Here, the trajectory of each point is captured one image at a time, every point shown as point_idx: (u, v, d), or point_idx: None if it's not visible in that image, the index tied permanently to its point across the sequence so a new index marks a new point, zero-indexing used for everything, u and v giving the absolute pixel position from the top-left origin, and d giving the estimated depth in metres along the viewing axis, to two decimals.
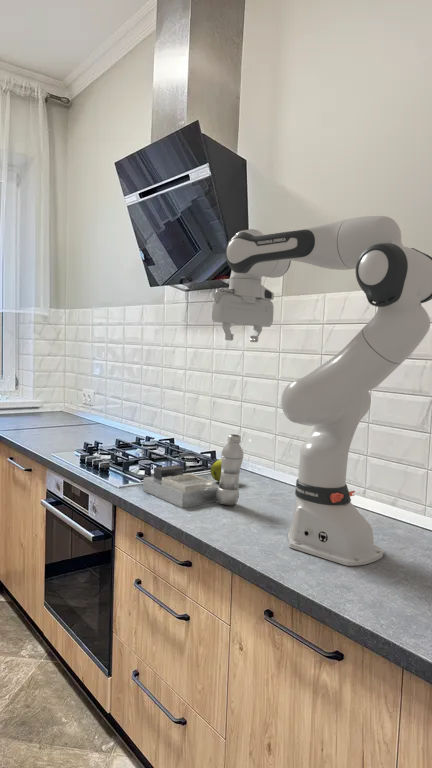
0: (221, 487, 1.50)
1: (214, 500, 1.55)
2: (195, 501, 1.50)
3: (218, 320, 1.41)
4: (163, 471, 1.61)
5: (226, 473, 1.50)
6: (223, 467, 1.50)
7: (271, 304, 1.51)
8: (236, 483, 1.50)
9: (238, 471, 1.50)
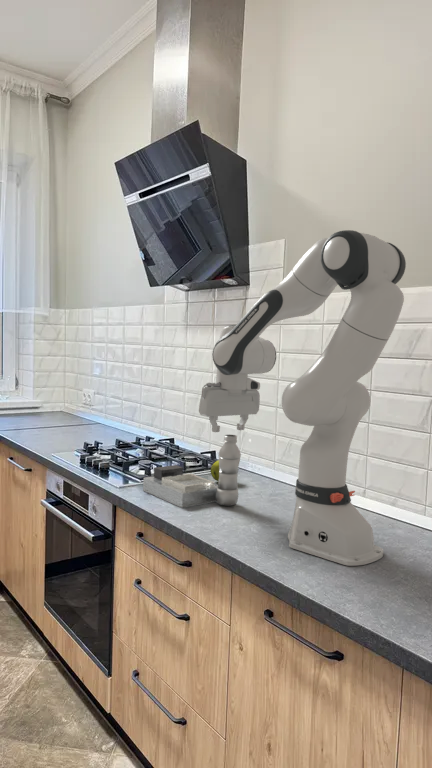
0: (220, 488, 1.50)
1: (214, 500, 1.55)
2: (195, 501, 1.50)
3: (205, 415, 1.45)
4: (163, 471, 1.61)
5: (224, 474, 1.50)
6: (221, 468, 1.50)
7: (257, 393, 1.55)
8: (235, 483, 1.50)
9: (236, 471, 1.50)
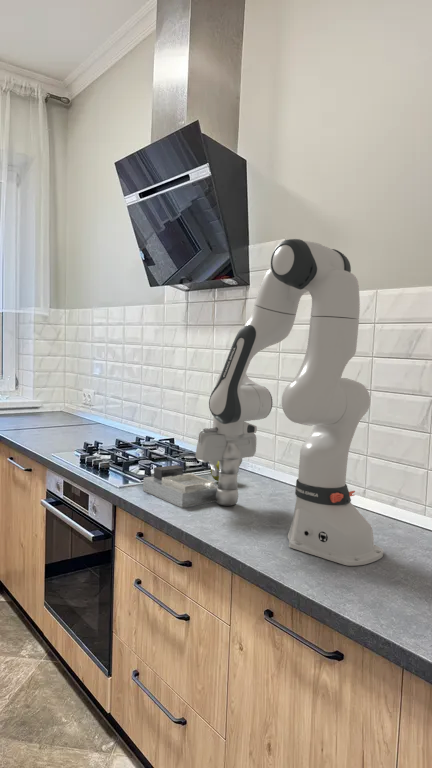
0: (220, 488, 1.50)
1: (214, 500, 1.55)
2: (195, 501, 1.50)
3: (201, 461, 1.46)
4: (163, 471, 1.61)
5: (224, 474, 1.50)
6: (221, 468, 1.50)
7: (254, 436, 1.56)
8: (235, 483, 1.50)
9: (236, 471, 1.50)
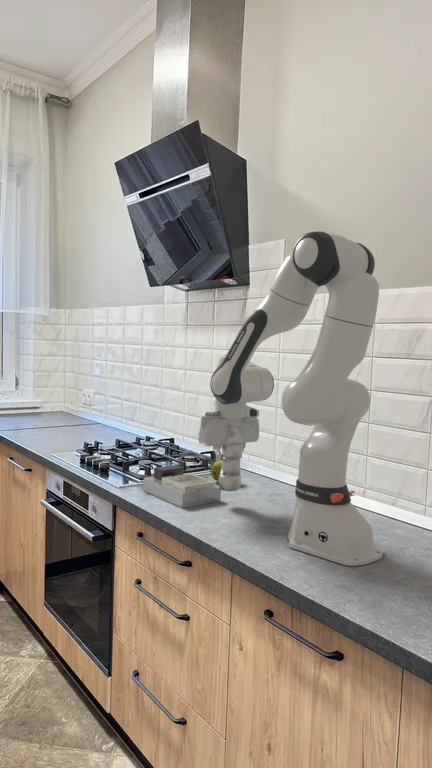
0: (223, 473, 1.49)
1: (214, 500, 1.55)
2: (195, 501, 1.50)
3: (205, 444, 1.45)
4: (163, 471, 1.61)
5: (227, 459, 1.49)
6: (223, 453, 1.49)
7: (257, 420, 1.55)
8: (237, 469, 1.49)
9: (239, 456, 1.49)
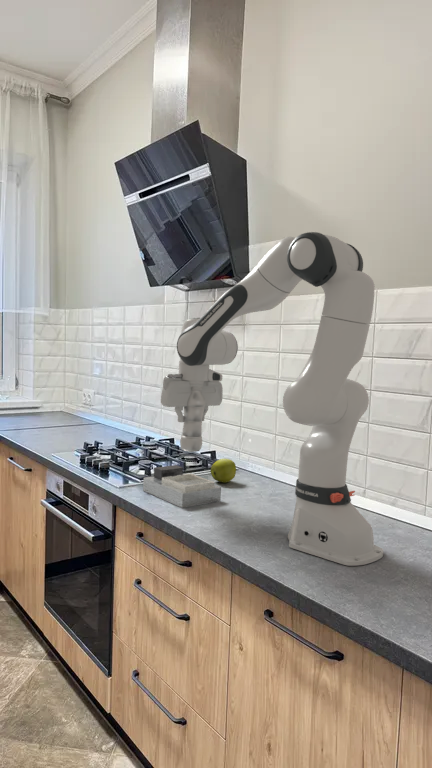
0: (184, 434, 1.53)
1: (214, 500, 1.55)
2: (195, 501, 1.50)
3: (166, 405, 1.48)
4: (163, 471, 1.61)
5: (188, 421, 1.52)
6: (185, 415, 1.53)
7: (220, 385, 1.58)
8: (198, 430, 1.53)
9: (200, 418, 1.53)
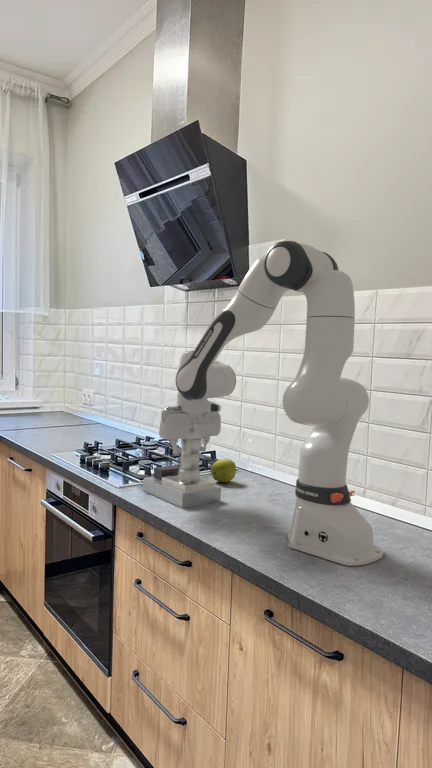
0: (182, 468, 1.54)
1: (214, 500, 1.55)
2: (195, 501, 1.50)
3: (164, 438, 1.49)
4: (163, 471, 1.61)
5: (186, 454, 1.53)
6: (183, 448, 1.54)
7: (218, 415, 1.59)
8: (196, 463, 1.54)
9: (197, 452, 1.54)
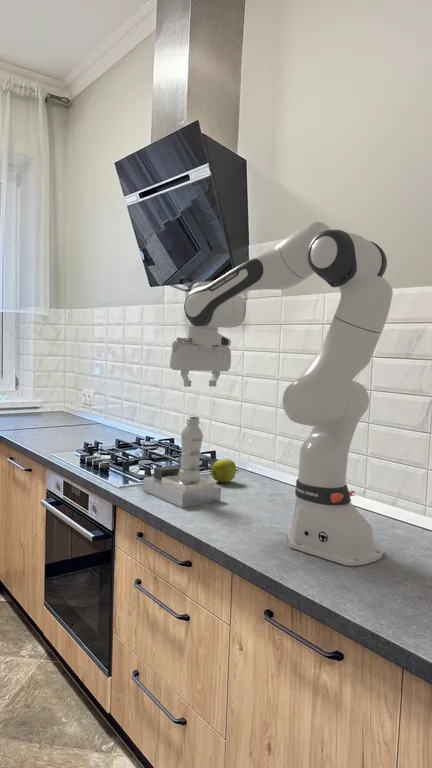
0: (182, 468, 1.54)
1: (214, 500, 1.55)
2: (195, 501, 1.50)
3: (175, 368, 1.48)
4: (163, 471, 1.61)
5: (186, 455, 1.53)
6: (183, 449, 1.54)
7: (228, 350, 1.58)
8: (196, 464, 1.54)
9: (198, 452, 1.54)
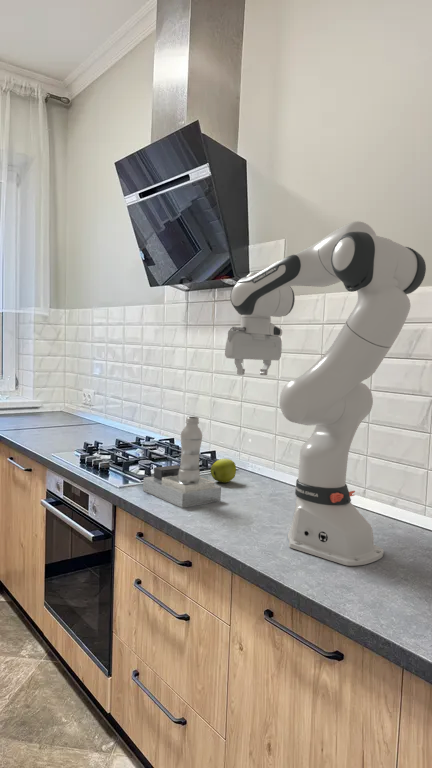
0: (182, 468, 1.54)
1: (214, 500, 1.55)
2: (195, 501, 1.50)
3: (231, 357, 1.52)
4: (163, 471, 1.61)
5: (186, 454, 1.53)
6: (183, 449, 1.54)
7: (279, 340, 1.61)
8: (196, 464, 1.54)
9: (197, 452, 1.54)
